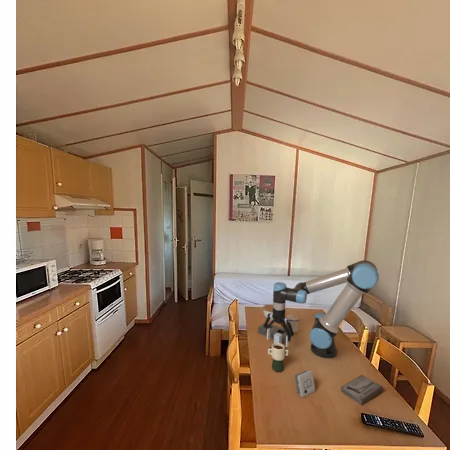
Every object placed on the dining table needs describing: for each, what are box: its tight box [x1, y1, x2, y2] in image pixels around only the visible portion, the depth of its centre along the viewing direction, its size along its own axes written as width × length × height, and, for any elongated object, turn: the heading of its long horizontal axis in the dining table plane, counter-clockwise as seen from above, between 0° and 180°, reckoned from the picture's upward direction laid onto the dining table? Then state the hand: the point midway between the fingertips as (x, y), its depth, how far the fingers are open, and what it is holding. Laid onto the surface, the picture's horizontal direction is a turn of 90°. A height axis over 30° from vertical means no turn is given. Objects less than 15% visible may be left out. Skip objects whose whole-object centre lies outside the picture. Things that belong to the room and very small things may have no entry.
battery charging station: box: [257, 323, 287, 343], centre depth 178 cm, size 20×10×5 cm, turn 51°
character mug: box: [267, 342, 289, 373], centre depth 140 cm, size 11×7×13 cm, turn 86°
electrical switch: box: [294, 370, 316, 398], centre depth 123 cm, size 9×5×9 cm, turn 121°
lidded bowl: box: [262, 304, 273, 321], centre depth 204 cm, size 13×13×11 cm
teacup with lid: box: [285, 313, 300, 333], centre depth 186 cm, size 12×9×12 cm
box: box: [340, 374, 384, 406], centre depth 124 cm, size 11×17×3 cm, turn 120°
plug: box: [273, 333, 283, 344], centre depth 158 cm, size 4×4×10 cm
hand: (277, 342), depth 158 cm, fingers open, 12 cm apart
